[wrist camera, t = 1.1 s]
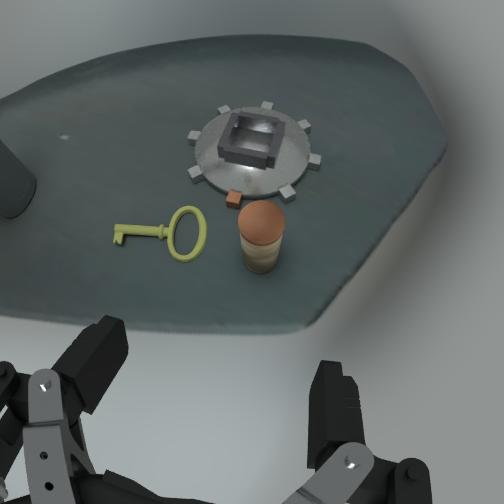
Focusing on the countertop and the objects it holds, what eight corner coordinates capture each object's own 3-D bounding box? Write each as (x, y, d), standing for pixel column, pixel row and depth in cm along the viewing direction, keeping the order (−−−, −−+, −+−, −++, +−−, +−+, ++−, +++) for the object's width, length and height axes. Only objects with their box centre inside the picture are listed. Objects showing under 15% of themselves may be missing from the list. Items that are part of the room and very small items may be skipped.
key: (116, 230, 37) (110, 224, 35) (202, 206, 39) (200, 198, 36) (122, 280, 35) (115, 276, 33) (214, 256, 36) (212, 250, 34)
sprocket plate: (165, 193, 39) (157, 177, 35) (212, 100, 45) (209, 82, 41) (306, 225, 37) (311, 210, 33) (326, 121, 43) (331, 103, 39)
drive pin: (238, 269, 35) (232, 236, 26) (248, 237, 36) (245, 195, 27) (272, 278, 35) (279, 247, 25) (281, 246, 36) (289, 206, 27)
